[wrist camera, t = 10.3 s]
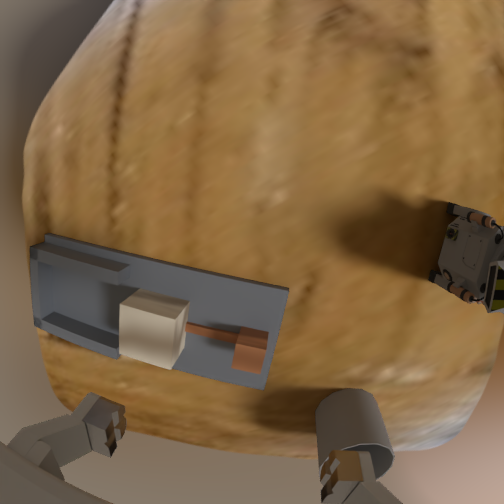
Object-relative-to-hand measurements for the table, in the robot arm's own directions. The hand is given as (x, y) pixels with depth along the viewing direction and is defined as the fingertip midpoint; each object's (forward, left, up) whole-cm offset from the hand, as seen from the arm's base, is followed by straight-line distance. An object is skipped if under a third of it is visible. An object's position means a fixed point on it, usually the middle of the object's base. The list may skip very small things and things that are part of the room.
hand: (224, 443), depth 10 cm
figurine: (-7, +22, -24) cm, 34 cm away
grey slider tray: (+8, -13, -24) cm, 28 cm away
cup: (+17, +14, -24) cm, 32 cm away
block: (+8, -6, -23) cm, 25 cm away
